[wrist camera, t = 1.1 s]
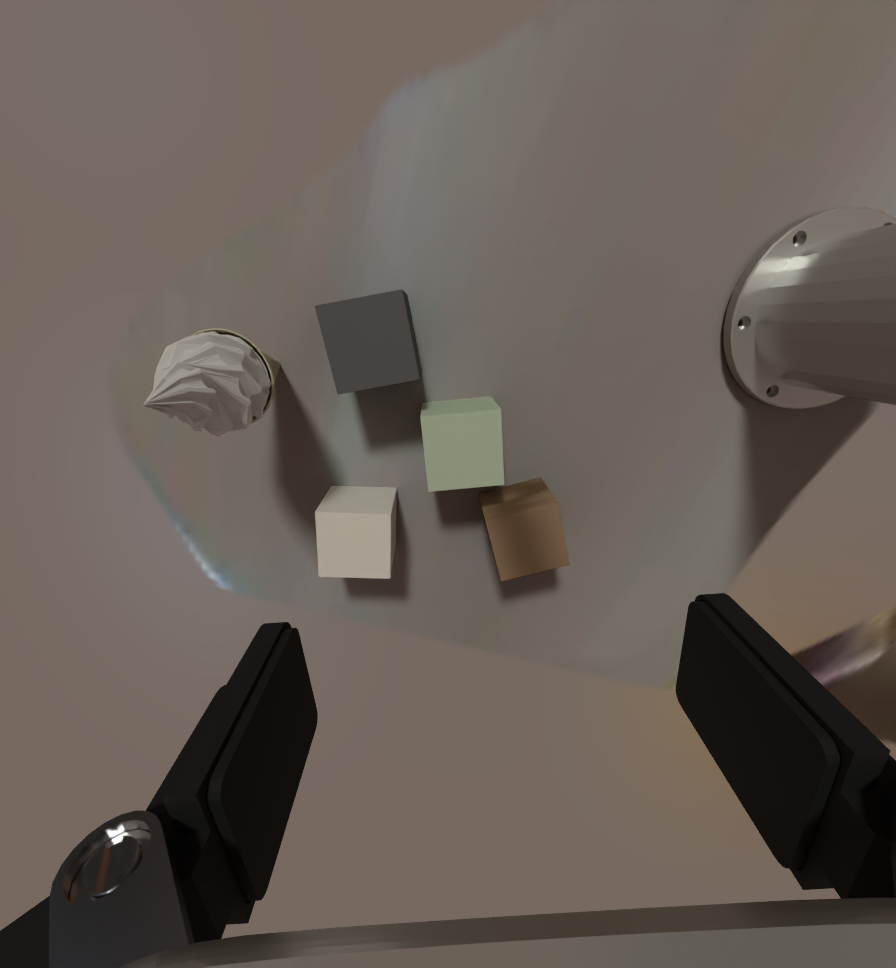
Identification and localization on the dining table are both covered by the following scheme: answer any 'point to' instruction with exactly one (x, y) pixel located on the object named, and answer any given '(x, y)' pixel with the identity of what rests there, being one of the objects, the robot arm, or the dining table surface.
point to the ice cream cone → (214, 381)
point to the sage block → (462, 443)
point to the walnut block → (524, 529)
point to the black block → (370, 341)
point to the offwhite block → (356, 532)
